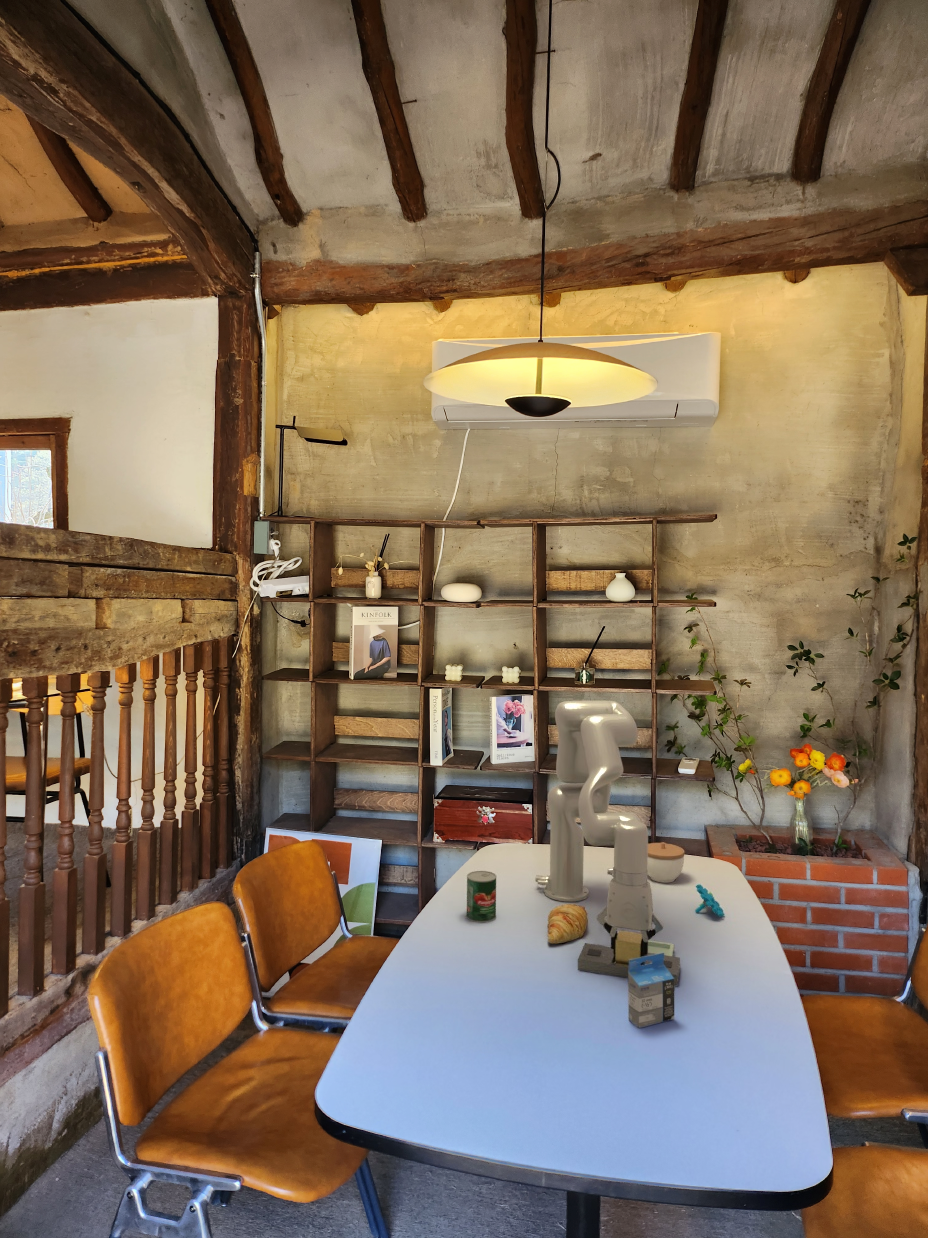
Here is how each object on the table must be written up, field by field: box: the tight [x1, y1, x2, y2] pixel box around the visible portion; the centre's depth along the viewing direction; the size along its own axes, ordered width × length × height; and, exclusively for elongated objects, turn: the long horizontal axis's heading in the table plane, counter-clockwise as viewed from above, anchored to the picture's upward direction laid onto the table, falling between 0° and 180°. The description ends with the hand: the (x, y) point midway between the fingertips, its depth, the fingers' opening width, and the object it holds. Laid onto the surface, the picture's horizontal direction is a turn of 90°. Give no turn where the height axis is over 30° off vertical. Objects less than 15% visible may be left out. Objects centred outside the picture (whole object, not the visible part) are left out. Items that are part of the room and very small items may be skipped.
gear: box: [694, 883, 725, 918], centre depth 213 cm, size 11×6×10 cm
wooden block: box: [615, 929, 644, 965], centre depth 180 cm, size 6×6×8 cm
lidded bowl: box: [647, 841, 685, 884], centre depth 239 cm, size 13×13×11 cm
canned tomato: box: [466, 870, 497, 924], centre depth 209 cm, size 8×8×11 cm
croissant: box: [546, 903, 588, 945], centre depth 200 cm, size 21×10×8 cm, turn 151°
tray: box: [648, 939, 675, 957], centre depth 188 cm, size 12×8×2 cm, turn 71°
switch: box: [577, 942, 681, 987], centre depth 180 cm, size 22×9×3 cm, turn 71°
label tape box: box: [627, 953, 676, 1029], centre depth 158 cm, size 9×4×12 cm, turn 114°
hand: (629, 954), depth 180 cm, fingers closed on wooden block, 5 cm apart
